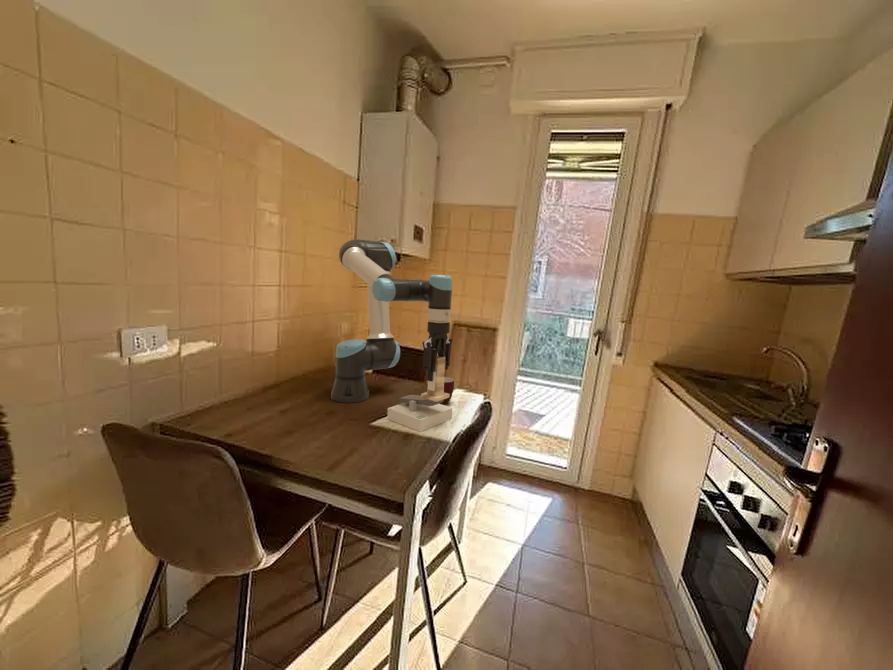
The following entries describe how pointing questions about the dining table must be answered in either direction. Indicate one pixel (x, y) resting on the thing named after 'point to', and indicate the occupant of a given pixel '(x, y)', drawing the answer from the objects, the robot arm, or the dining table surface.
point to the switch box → (419, 415)
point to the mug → (448, 389)
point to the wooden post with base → (438, 382)
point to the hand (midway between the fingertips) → (435, 388)
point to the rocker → (419, 400)
